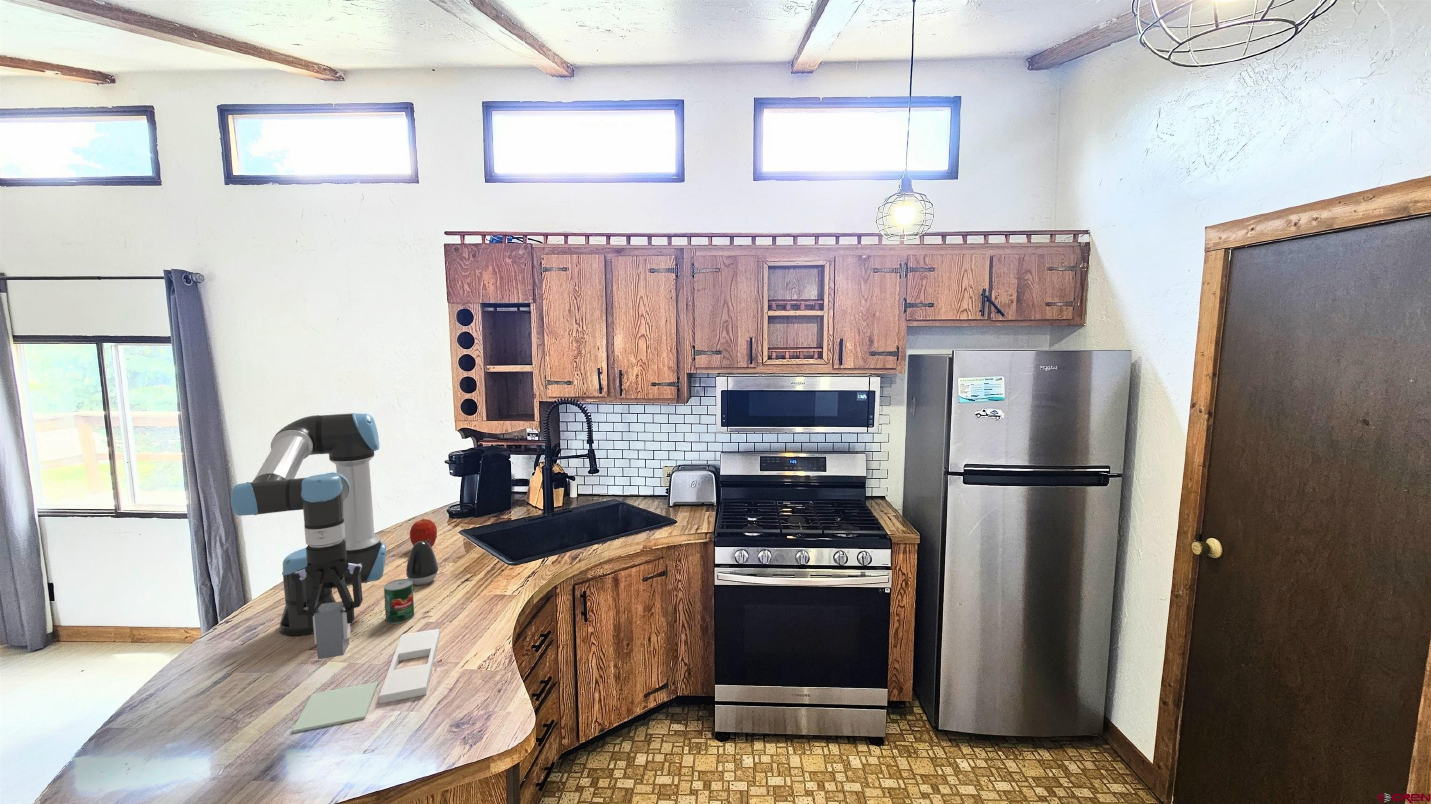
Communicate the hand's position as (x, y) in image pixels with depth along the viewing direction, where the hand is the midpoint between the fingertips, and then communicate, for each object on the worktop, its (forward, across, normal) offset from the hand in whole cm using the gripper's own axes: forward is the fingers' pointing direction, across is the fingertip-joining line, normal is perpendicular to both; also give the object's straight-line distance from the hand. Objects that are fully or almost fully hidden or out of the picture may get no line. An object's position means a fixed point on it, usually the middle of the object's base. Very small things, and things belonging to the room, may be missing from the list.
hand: (333, 638), depth 131 cm
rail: (+17, +14, +13) cm, 26 cm away
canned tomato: (+17, +6, +44) cm, 48 cm away
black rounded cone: (+17, +9, +71) cm, 74 cm away
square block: (+3, 0, 0) cm, 3 cm away
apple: (+17, +5, +106) cm, 108 cm away
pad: (+17, 0, 0) cm, 17 cm away
